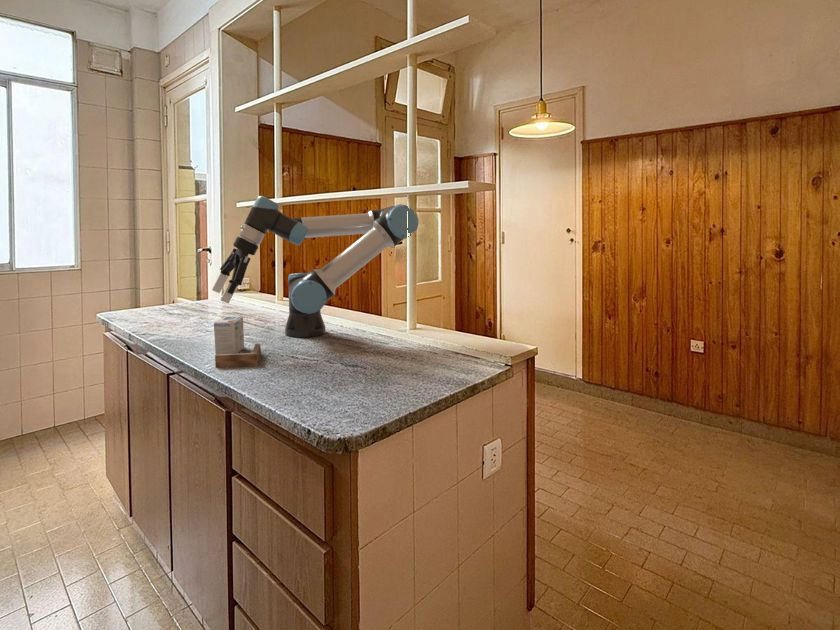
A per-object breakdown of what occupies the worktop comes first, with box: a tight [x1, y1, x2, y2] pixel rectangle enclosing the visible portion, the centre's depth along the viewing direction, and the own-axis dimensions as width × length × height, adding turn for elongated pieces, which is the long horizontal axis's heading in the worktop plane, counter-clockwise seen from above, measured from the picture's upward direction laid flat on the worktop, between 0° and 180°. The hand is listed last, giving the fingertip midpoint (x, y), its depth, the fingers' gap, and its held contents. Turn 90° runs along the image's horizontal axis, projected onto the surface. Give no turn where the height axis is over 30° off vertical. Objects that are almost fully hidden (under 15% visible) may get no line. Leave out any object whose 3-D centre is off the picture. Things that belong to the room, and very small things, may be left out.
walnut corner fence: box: [214, 343, 262, 368], centre depth 157 cm, size 12×14×4 cm
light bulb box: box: [213, 316, 245, 355], centre depth 168 cm, size 11×7×11 cm, turn 5°
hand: (219, 296), depth 174 cm, fingers open, 13 cm apart
